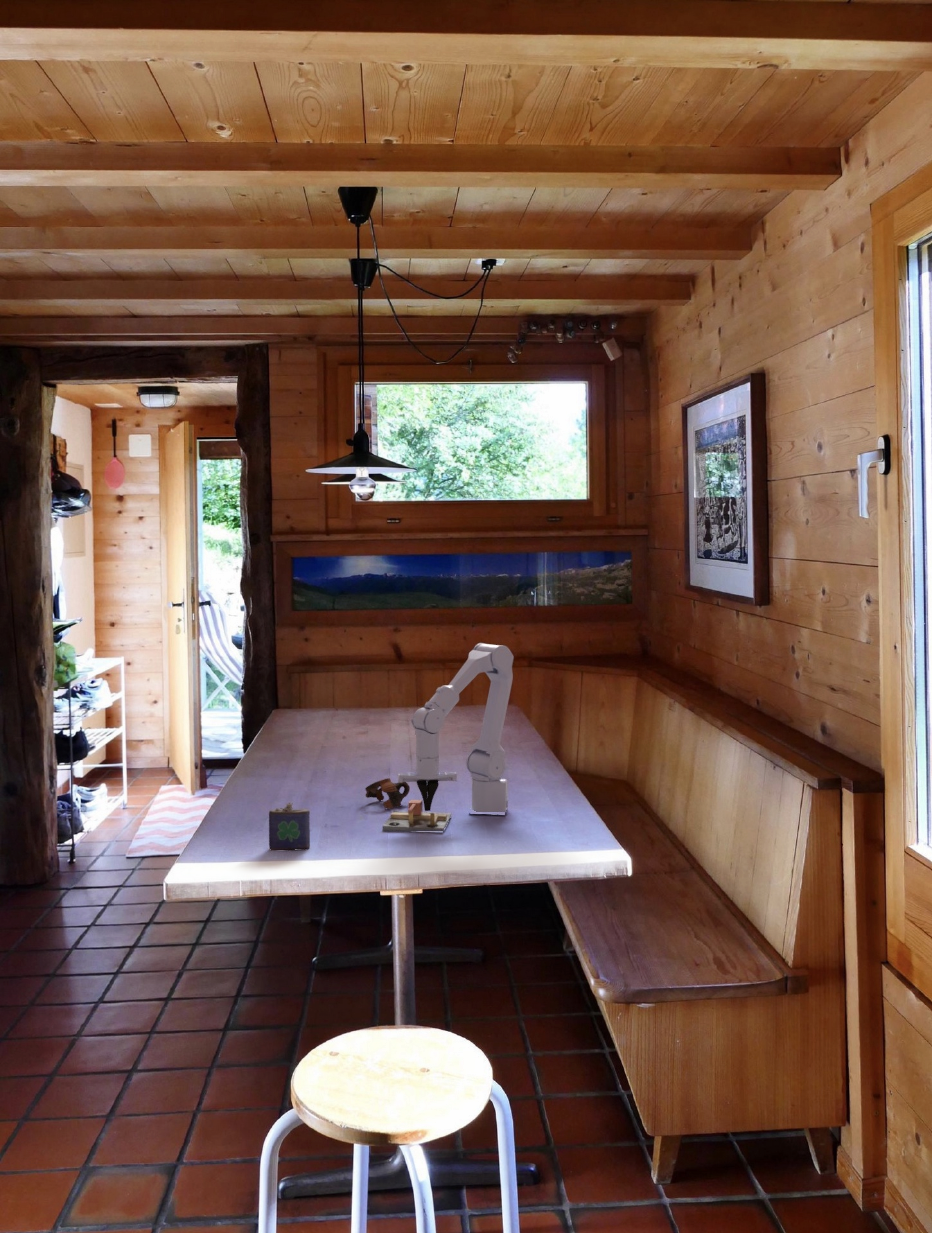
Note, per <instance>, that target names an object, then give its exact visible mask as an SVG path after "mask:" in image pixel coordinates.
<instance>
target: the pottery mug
mask: <svg viewBox="0 0 932 1233" xmlns="http://www.w3.org/2000/svg"><path fill="white" fill-rule="evenodd" d="M401 788H404V790H403V792H402V793H401V792H400V790H401ZM410 788H411V787H410V785H409V782H403V783H399V782H398V781H397V782H395V783H394V782H392V780H391V778H390V777H389V778H384V779H380V780H378V781H375V782H373V783H371V784H369V785H368V786H366V787H365V788H364V789H365V792H366V793H365V797H366V798H367V799H368V798H369V799H370V798H373V799H377V800H378V802H381V800H382V801H383V800H384V799H385V796H384V794H383V793H386V795H387V796H388V799H387V800H385V801H383V802H382V805H383V806H384V807H383V808H384V809H385V808H390V809H392V808H398V807H401V806H402V802H403V799H404V798H405V797H407V796H408V794H409V793H410ZM400 805H401V806H400ZM397 806H398V807H397Z"/></svg>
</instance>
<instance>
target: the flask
mask: <svg viewBox="0 0 932 1233" xmlns="http://www.w3.org/2000/svg"><path fill="white" fill-rule="evenodd" d="M285 804H286V806H285V807H283V808H282V807H280V808H279V807H276V809H275V808H274V809H270V810H269V812H268V846H269V847H268V848H269V850H270V849H271V850H270V851H272V850H288V851H296V850H295V849H304V850H306V849H307V850H309V849H310V847H311V838H310V837H311V833H310V832H311V830H310V829H311V828H310V820H311V818H310V816H311V815H310V813H311V812H310V810H309V809H308V808H300V809H297V808H296V809H293V804H294V803H293V802H287V803H285ZM308 848H309V849H308Z"/></svg>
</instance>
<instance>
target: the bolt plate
mask: <svg viewBox="0 0 932 1233" xmlns="http://www.w3.org/2000/svg"><path fill="white" fill-rule="evenodd" d="M393 812H394V813H408V810H407V811H405V810H402V811H401V810H394V811H393ZM430 813H435V814H447V819H446V820H438V821H437V823H436V824H435V825H434V826H431V825H430V820H424V819H413V824H409V819H397V818H391V815H390V816H389V817H388V818H387V820H386V821H385V822H384V824H382V832H399V831H444V828H445V827H446V825H447V823H448V821H449V819H450V817H451V815H452V816H453V814H452V812H435V811H434V812H431V811H423V812H422V813H421V814H430ZM447 826H448V825H447ZM446 828H447V827H446ZM444 832H445V831H444Z"/></svg>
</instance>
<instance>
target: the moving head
mask: <svg viewBox="0 0 932 1233" xmlns="http://www.w3.org/2000/svg"><path fill="white" fill-rule="evenodd" d="M407 807H408V809H407V811H408V815H409V824H413V815H421V813H422V812H424V811H423V810H424V808H423V807H424V802H423V799H410V800H409V801H408V806H407Z"/></svg>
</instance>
